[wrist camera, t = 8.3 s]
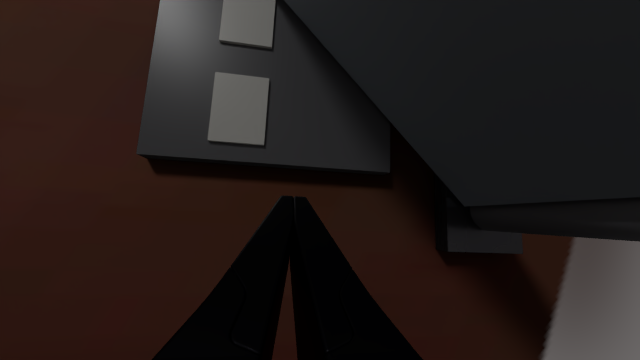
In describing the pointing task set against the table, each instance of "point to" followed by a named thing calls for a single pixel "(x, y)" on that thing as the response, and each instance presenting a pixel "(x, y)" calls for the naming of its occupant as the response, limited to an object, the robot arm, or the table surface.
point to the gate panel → (506, 102)
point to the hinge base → (466, 228)
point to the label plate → (255, 93)
